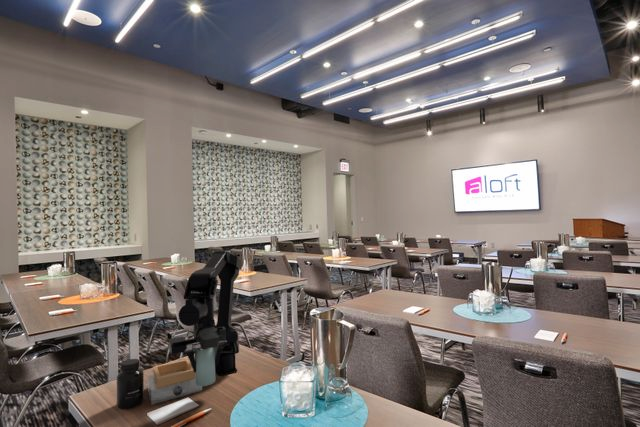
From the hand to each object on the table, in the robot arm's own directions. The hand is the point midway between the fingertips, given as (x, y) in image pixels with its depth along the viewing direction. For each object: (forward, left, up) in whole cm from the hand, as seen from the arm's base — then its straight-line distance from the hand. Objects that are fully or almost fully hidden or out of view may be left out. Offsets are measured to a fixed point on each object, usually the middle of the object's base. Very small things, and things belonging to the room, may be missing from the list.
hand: (205, 369), depth 103 cm
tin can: (0, 0, -4) cm, 4 cm away
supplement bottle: (+19, -9, -8) cm, 23 cm away
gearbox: (+7, -11, -8) cm, 15 cm away
